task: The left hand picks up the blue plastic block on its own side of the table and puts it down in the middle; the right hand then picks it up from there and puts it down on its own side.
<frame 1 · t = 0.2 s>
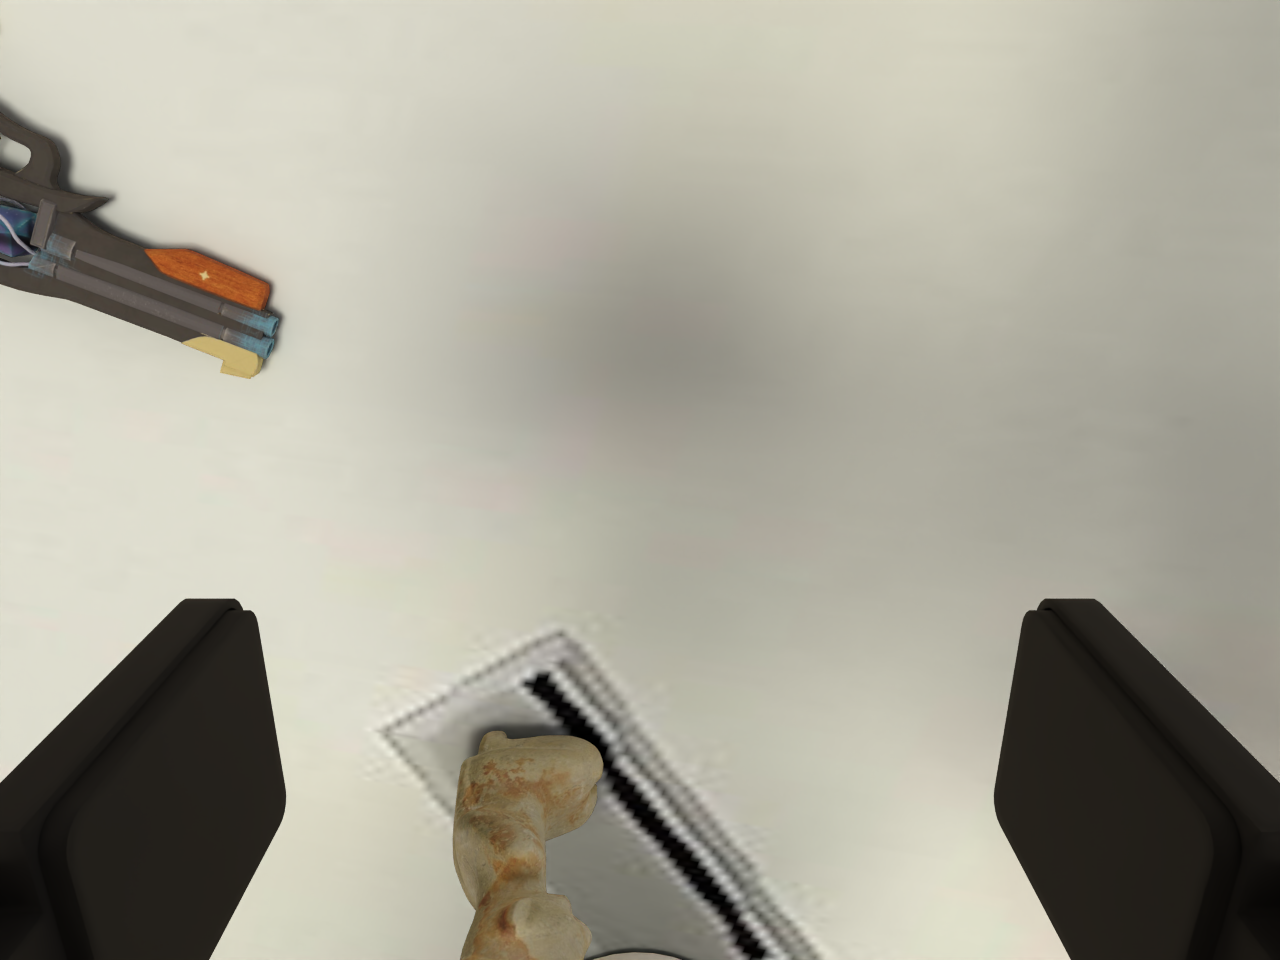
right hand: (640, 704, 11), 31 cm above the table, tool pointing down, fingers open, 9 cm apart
toy gun: (82, 186, 39), on the table
sculpture: (535, 756, 49), on the table
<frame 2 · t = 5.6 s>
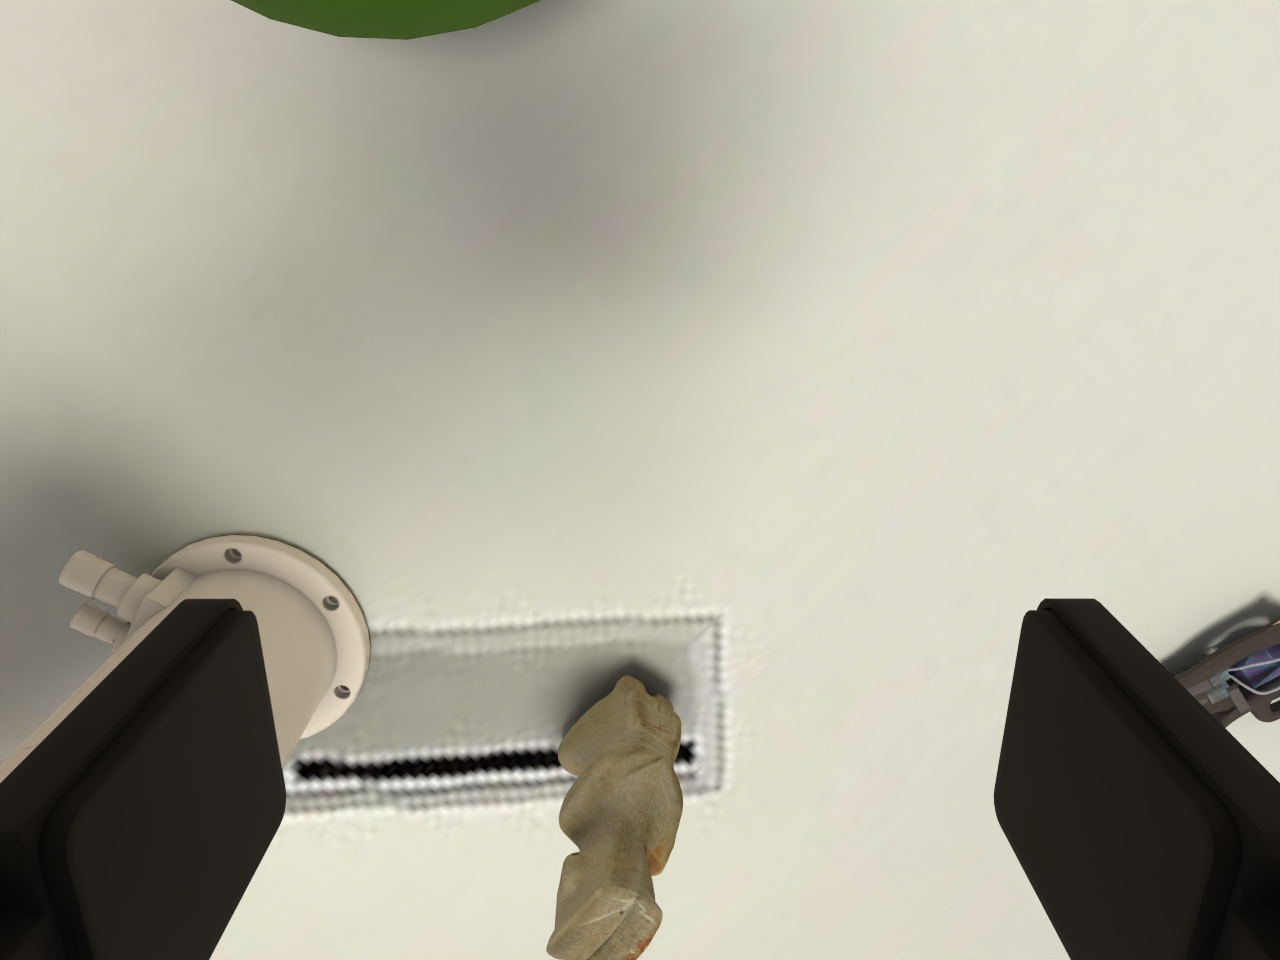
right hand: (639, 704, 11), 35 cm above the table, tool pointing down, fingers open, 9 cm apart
toy gun: (1225, 697, 52), on the table
sculpture: (621, 715, 52), on the table
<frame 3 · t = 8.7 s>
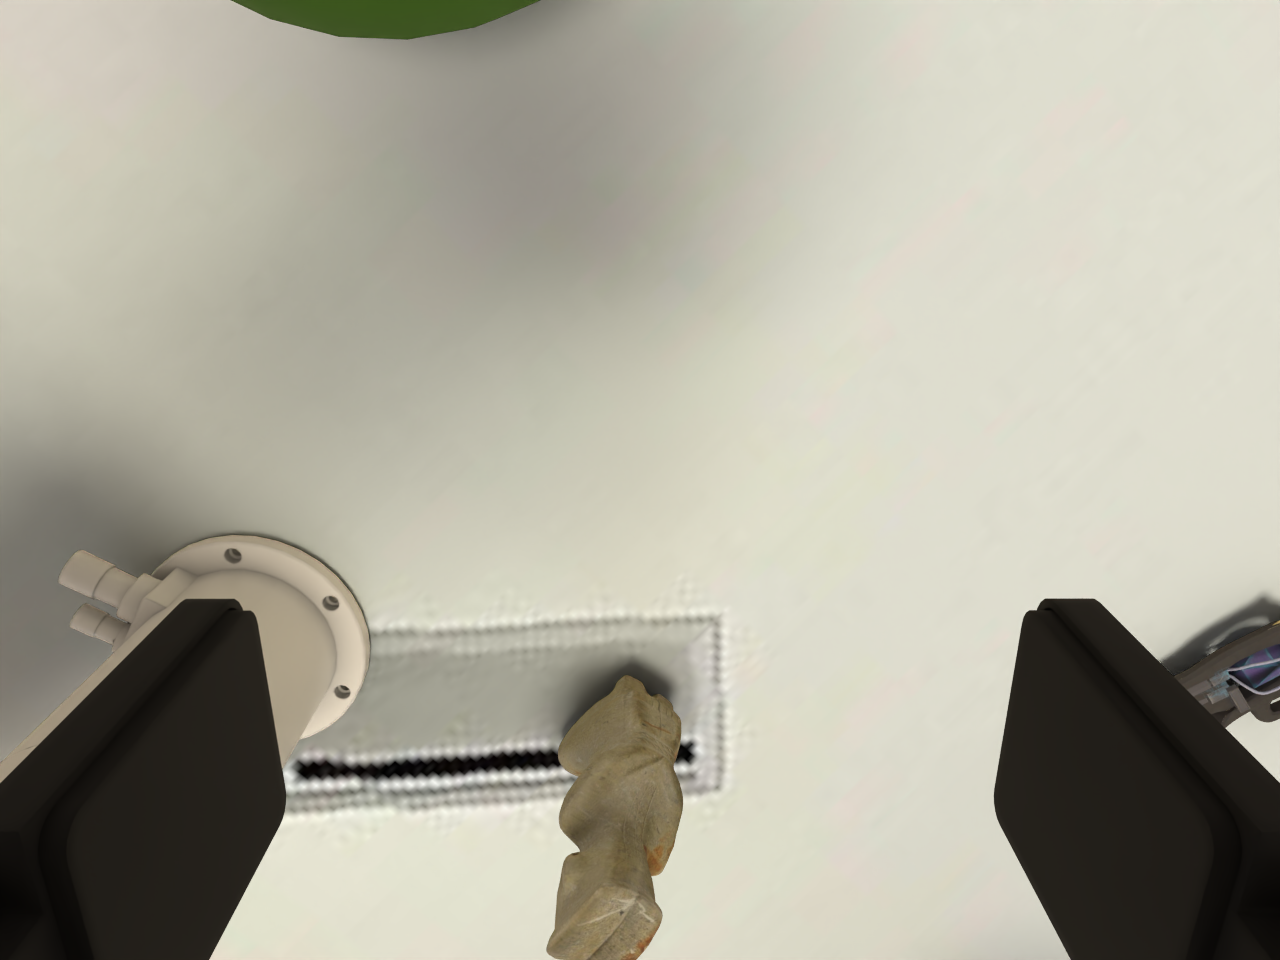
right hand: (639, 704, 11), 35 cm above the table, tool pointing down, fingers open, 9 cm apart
toy gun: (1225, 697, 52), on the table
sculpture: (621, 715, 52), on the table
when the left hand's fingers open (3 cm above the table, at t = 11.6 s): block drops 2 cm, on the table.
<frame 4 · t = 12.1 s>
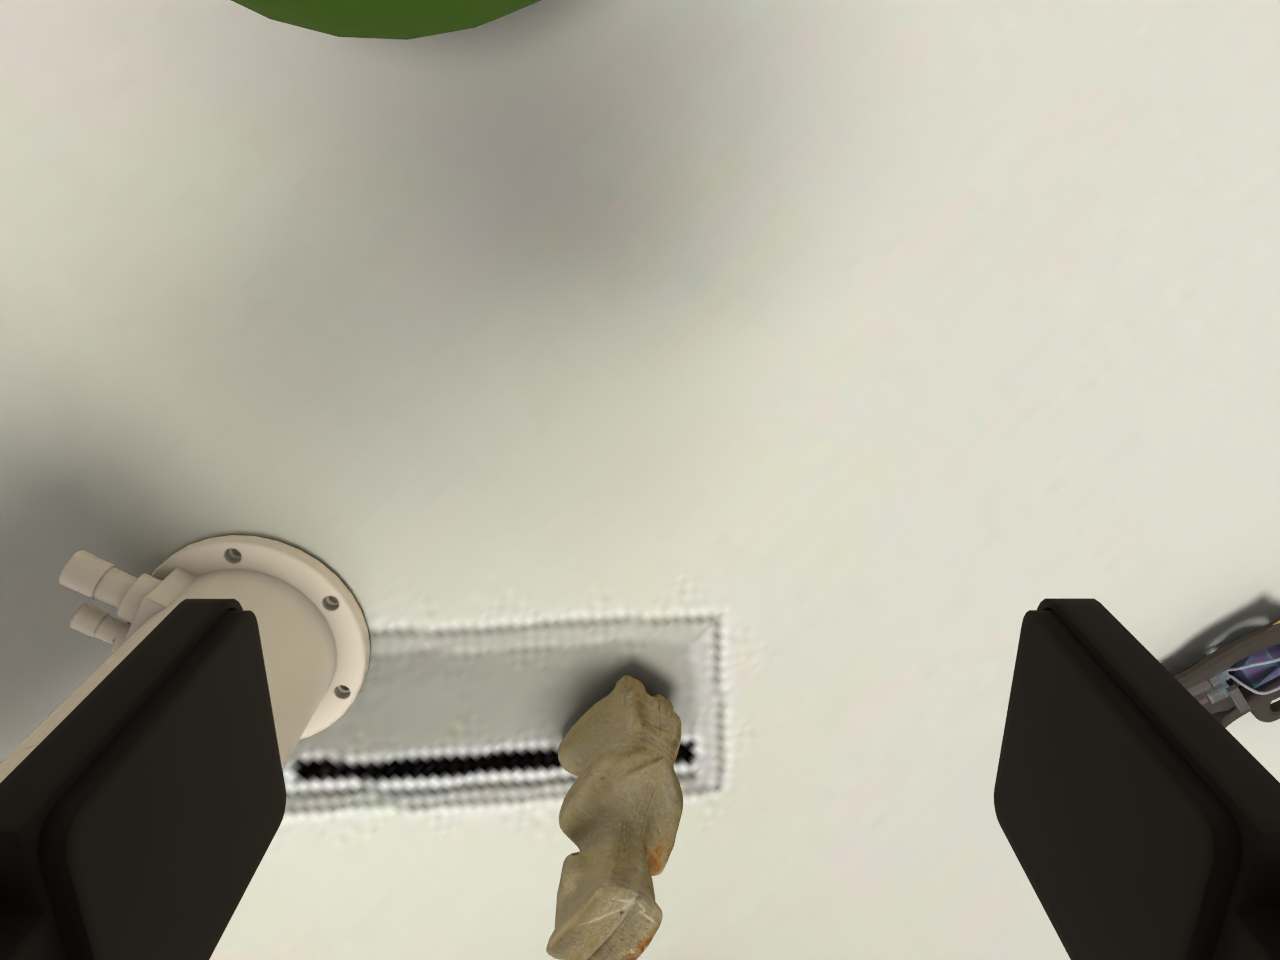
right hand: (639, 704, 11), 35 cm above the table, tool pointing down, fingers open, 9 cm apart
toy gun: (1225, 697, 52), on the table
sculpture: (621, 715, 52), on the table
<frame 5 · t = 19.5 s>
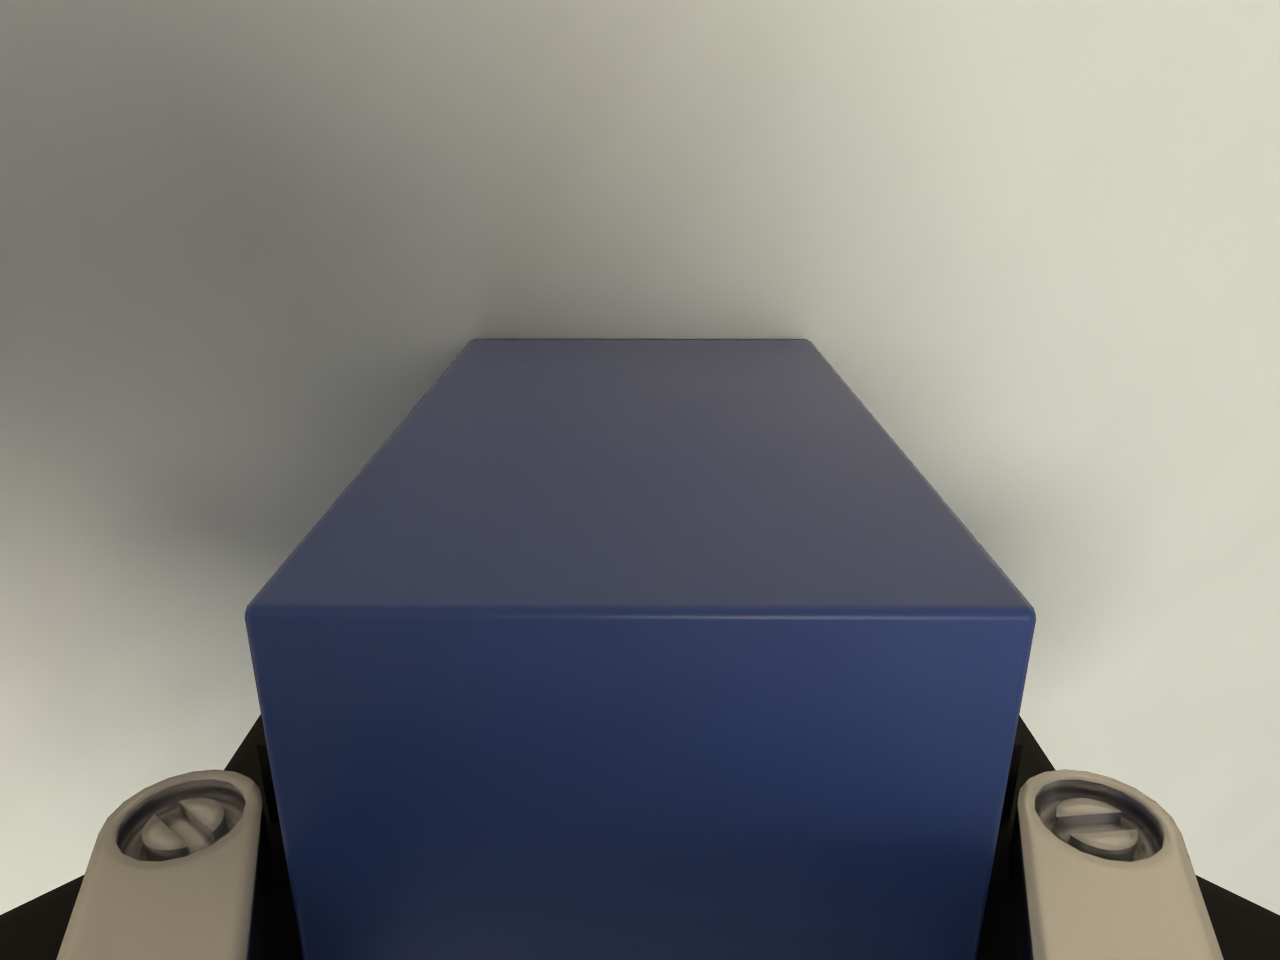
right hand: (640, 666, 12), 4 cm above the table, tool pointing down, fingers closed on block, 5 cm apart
block: (640, 553, 15), on the table, touching right hand
when the right hand's fingers open (5 cm above the table, at t = 26.2 s): block drops 1 cm, on the table.
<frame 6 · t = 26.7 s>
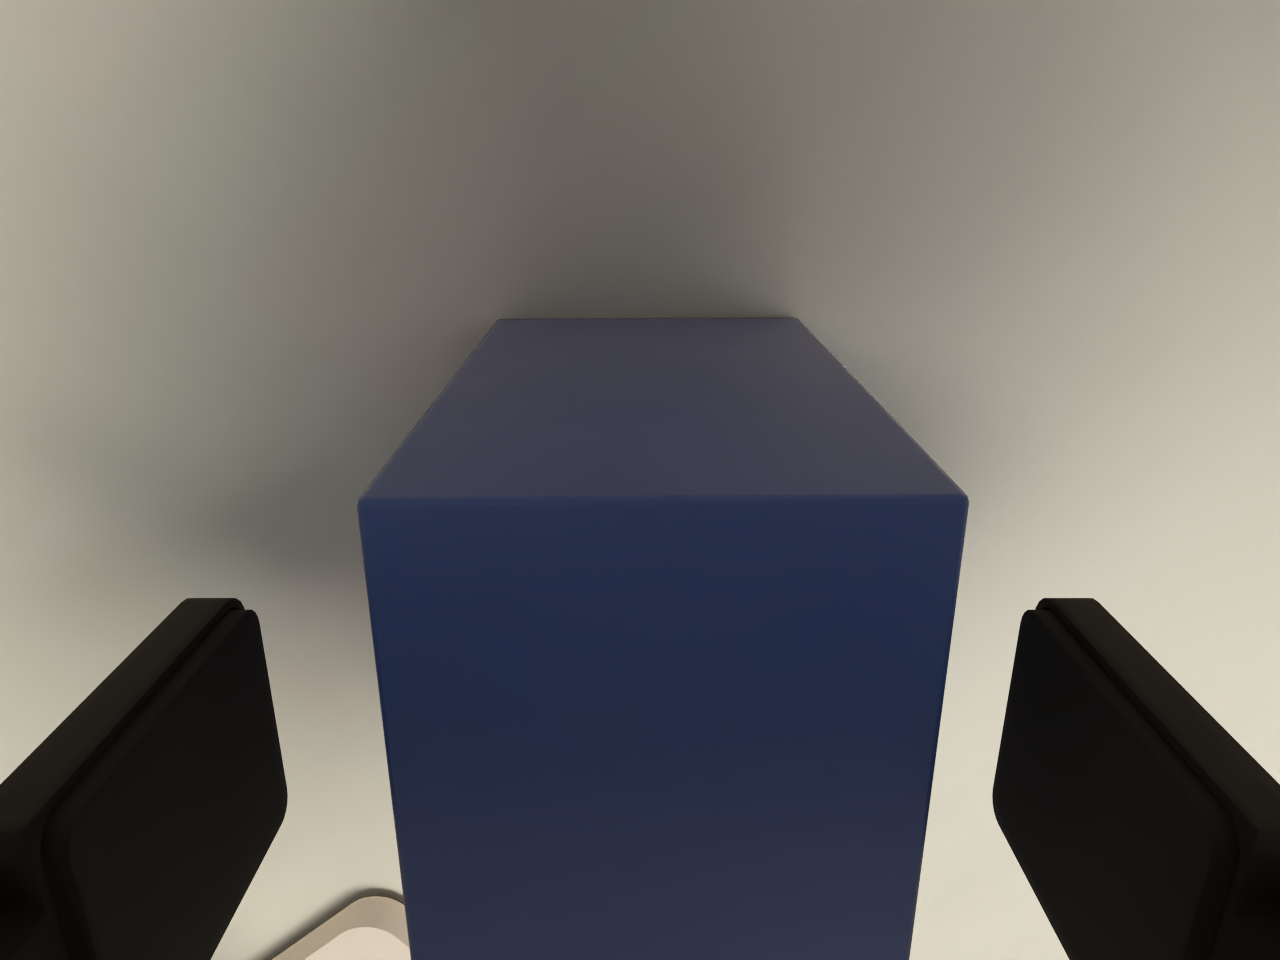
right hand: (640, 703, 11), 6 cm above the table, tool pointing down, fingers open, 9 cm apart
block: (647, 512, 17), on the table
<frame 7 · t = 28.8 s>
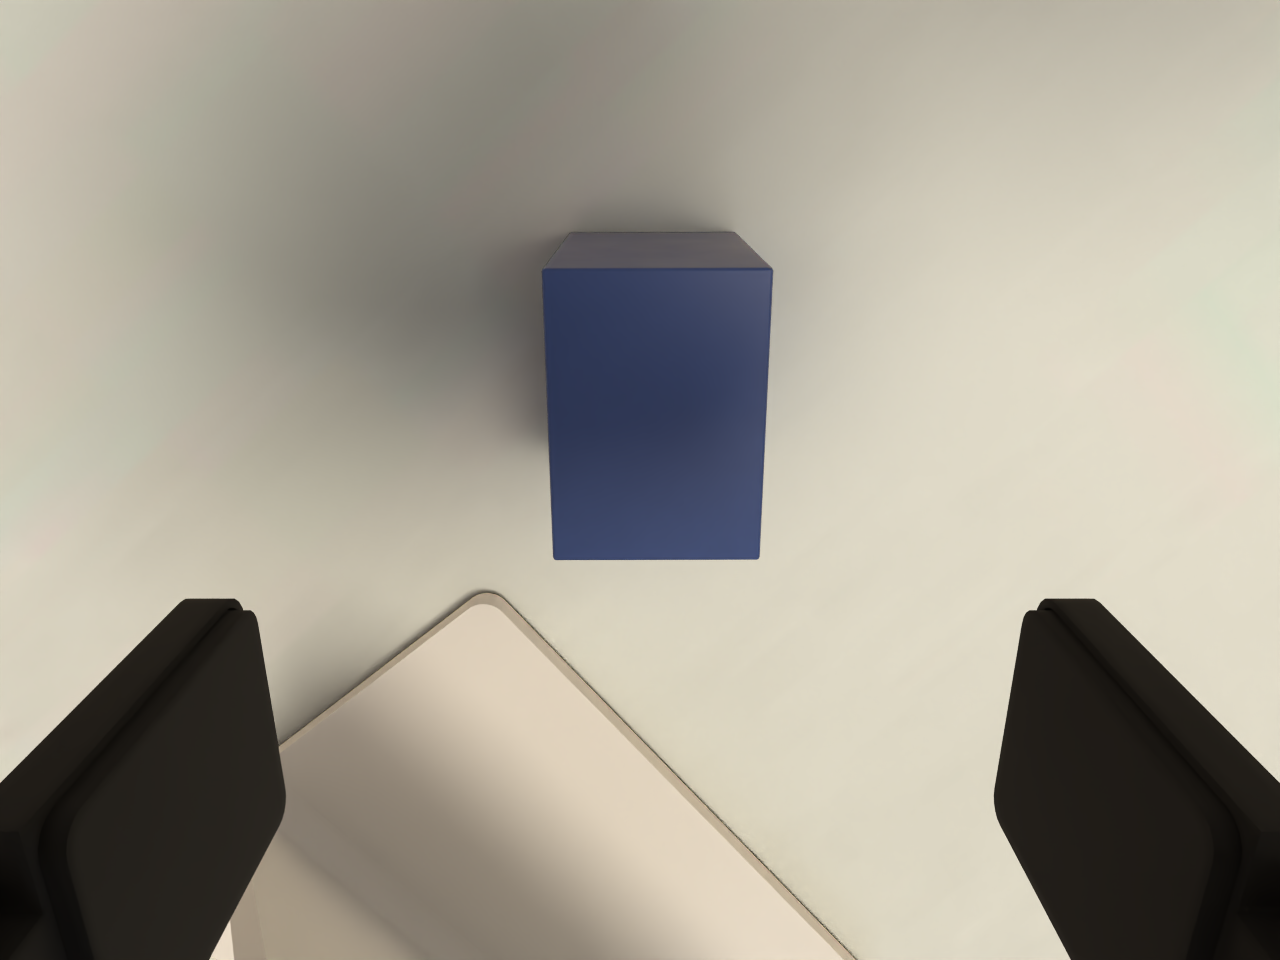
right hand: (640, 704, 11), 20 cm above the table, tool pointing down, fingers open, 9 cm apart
block: (652, 346, 30), on the table
tablet stand: (533, 911, 38), on the table
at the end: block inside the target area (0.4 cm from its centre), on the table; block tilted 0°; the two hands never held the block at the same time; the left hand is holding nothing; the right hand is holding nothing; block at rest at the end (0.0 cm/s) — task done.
